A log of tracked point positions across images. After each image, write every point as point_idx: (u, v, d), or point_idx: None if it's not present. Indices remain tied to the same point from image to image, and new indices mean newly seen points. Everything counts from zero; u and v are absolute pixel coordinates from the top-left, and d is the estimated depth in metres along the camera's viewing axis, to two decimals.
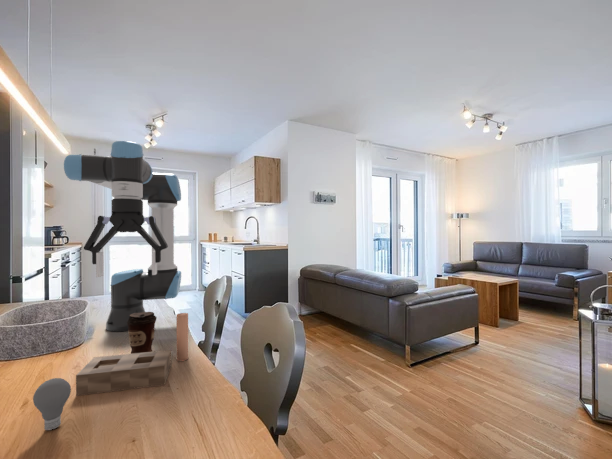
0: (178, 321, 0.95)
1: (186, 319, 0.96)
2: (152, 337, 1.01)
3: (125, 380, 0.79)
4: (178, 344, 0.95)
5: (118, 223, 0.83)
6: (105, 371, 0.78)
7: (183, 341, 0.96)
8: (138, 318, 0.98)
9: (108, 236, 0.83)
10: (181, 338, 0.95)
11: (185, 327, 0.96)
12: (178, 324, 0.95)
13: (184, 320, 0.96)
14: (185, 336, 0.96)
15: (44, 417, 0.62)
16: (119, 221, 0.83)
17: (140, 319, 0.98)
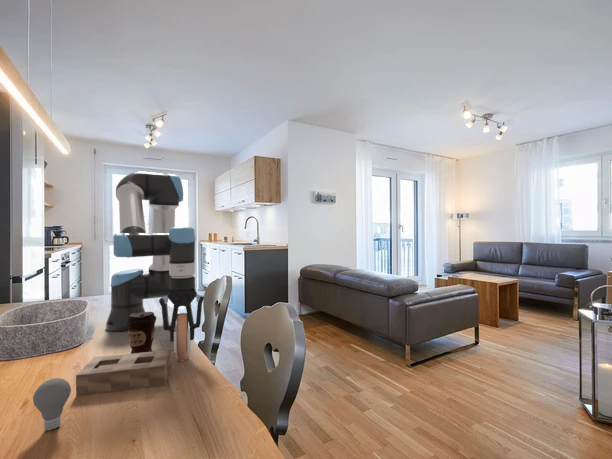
0: (178, 321, 0.95)
1: (186, 319, 0.96)
2: (152, 337, 1.01)
3: (125, 380, 0.79)
4: (178, 344, 0.95)
5: (176, 300, 0.95)
6: (105, 371, 0.78)
7: (183, 341, 0.96)
8: (138, 318, 0.98)
9: (175, 313, 0.95)
10: (181, 338, 0.95)
11: (185, 327, 0.96)
12: (178, 324, 0.95)
13: (184, 320, 0.96)
14: (185, 336, 0.96)
15: (44, 417, 0.62)
16: (176, 298, 0.95)
17: (140, 319, 0.98)
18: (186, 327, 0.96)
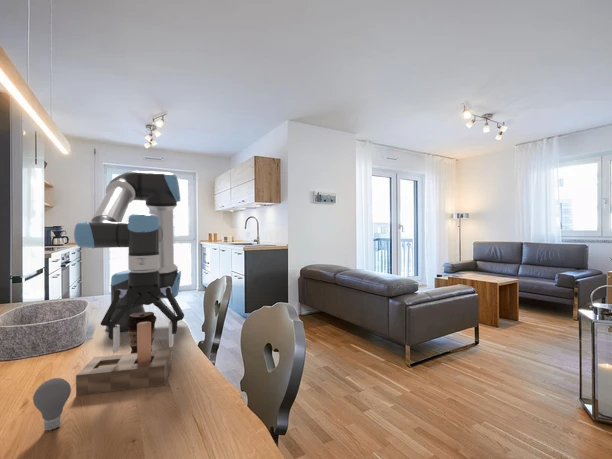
0: (139, 331, 0.83)
1: (148, 329, 0.84)
2: (152, 337, 1.01)
3: (125, 380, 0.79)
4: (139, 358, 0.83)
5: (135, 297, 0.82)
6: (105, 371, 0.78)
7: (145, 354, 0.83)
8: (138, 318, 0.98)
9: (125, 310, 0.82)
10: (142, 351, 0.83)
11: (147, 338, 0.83)
12: (139, 335, 0.83)
13: (146, 330, 0.83)
14: (147, 349, 0.84)
15: (44, 417, 0.62)
16: (136, 295, 0.82)
17: (140, 319, 0.98)
18: (148, 338, 0.84)
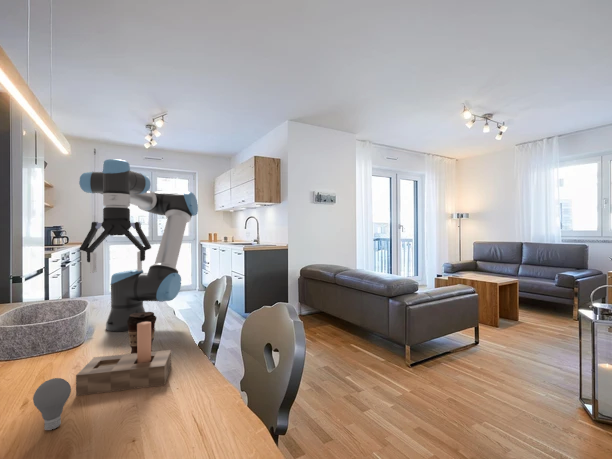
0: (139, 331, 0.83)
1: (148, 329, 0.84)
2: (152, 337, 1.01)
3: (125, 380, 0.79)
4: (139, 358, 0.83)
5: (108, 228, 1.00)
6: (105, 371, 0.78)
7: (145, 354, 0.83)
8: (138, 318, 0.98)
9: (100, 239, 1.00)
10: (142, 351, 0.83)
11: (147, 338, 0.83)
12: (139, 335, 0.83)
13: (146, 330, 0.83)
14: (147, 349, 0.84)
15: (44, 417, 0.62)
16: (109, 226, 1.00)
17: (140, 319, 0.98)
18: (148, 338, 0.84)
